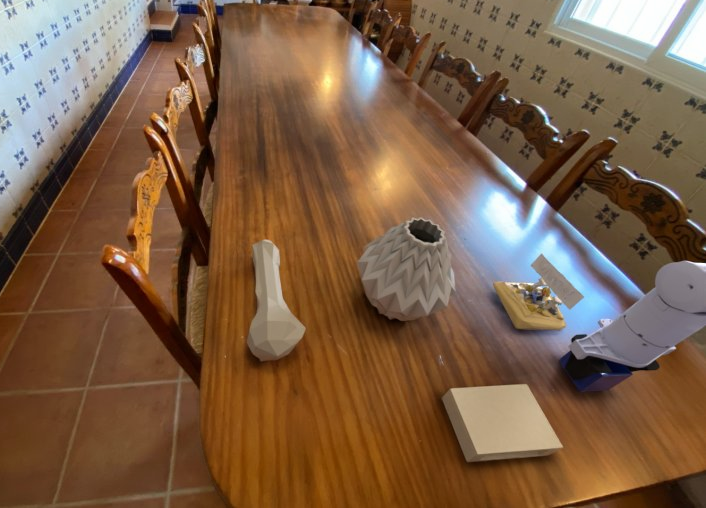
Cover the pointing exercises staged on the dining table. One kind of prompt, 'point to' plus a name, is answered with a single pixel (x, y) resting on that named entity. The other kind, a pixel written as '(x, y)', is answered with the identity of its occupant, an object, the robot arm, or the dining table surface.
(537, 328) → the cake
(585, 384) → the box
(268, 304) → the faceted club
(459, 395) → the beige flat block
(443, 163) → the dining table surface
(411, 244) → the vase
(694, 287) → the robot arm
